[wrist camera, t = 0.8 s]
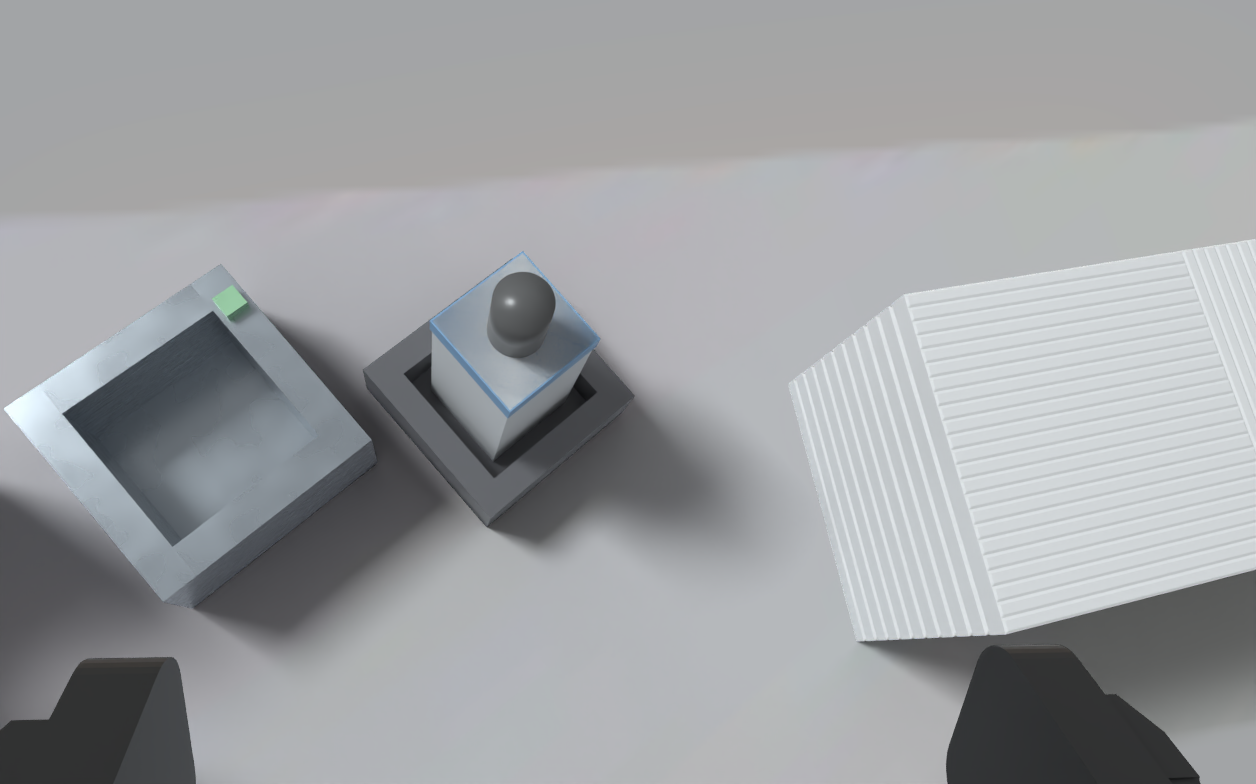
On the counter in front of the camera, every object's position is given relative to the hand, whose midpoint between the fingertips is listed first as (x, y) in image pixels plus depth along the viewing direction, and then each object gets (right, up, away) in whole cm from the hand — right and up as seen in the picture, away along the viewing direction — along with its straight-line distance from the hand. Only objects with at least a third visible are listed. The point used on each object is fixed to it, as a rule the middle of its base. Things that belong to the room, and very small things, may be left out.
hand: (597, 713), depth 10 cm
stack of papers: (+23, +1, +34) cm, 41 cm away
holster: (-5, +3, +28) cm, 29 cm away
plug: (-5, +3, +28) cm, 28 cm away
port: (-15, +1, +26) cm, 30 cm away
